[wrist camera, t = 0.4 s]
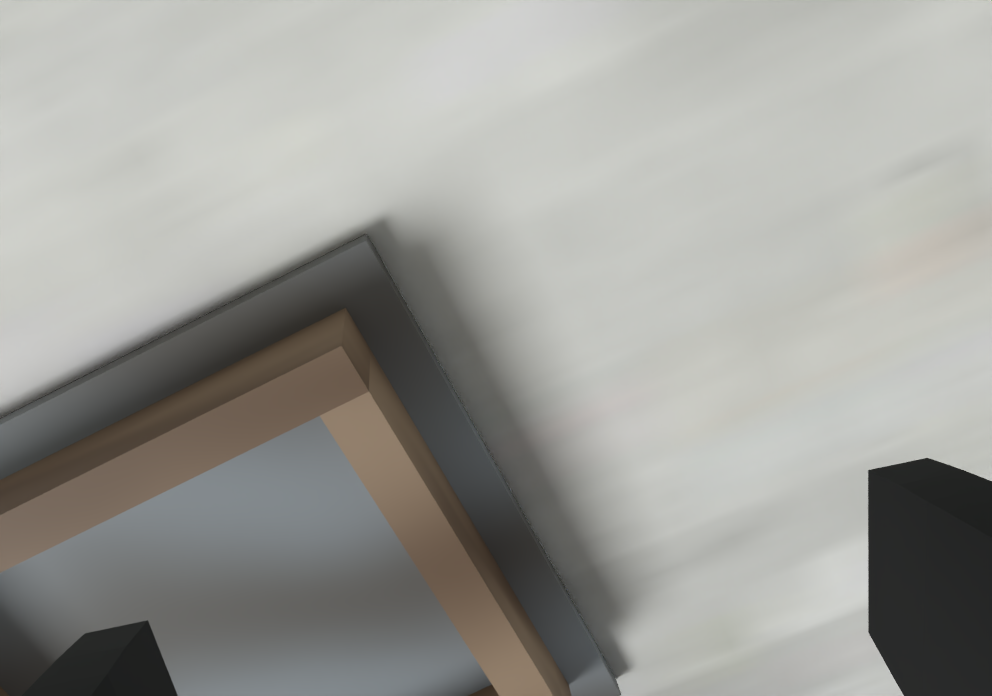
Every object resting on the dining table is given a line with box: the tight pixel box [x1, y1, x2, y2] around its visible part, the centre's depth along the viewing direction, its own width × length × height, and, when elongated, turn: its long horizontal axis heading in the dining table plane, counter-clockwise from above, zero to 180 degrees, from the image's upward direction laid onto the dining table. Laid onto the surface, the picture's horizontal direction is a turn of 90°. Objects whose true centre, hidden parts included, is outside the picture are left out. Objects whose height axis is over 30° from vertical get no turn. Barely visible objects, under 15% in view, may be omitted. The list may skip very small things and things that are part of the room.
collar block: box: [0, 234, 621, 696], centre depth 19 cm, size 13×14×2 cm
